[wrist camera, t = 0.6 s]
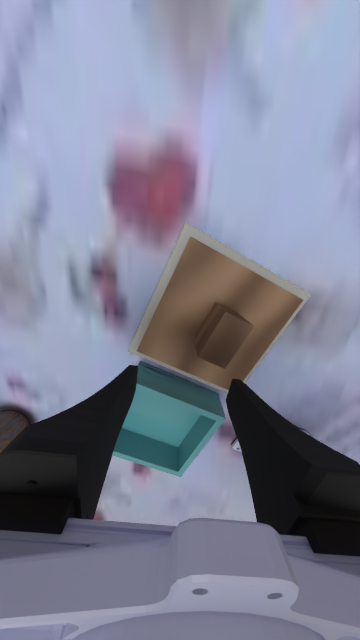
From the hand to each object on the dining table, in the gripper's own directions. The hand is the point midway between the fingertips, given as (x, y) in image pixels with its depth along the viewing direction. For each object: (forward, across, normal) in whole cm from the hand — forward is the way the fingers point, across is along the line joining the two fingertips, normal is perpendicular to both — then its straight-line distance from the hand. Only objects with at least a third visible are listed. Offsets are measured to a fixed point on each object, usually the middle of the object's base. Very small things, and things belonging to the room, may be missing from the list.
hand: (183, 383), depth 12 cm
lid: (+8, -4, -2) cm, 9 cm away
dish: (+9, +1, +12) cm, 15 cm away
